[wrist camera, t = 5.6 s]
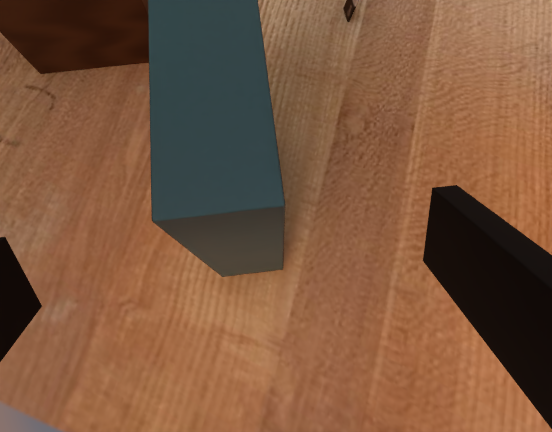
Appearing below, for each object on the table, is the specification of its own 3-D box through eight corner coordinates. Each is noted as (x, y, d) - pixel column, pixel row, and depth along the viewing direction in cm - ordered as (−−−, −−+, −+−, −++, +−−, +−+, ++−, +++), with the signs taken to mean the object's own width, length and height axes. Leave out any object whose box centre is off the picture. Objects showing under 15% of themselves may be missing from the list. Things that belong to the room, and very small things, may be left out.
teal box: (219, 277, 23) (145, 222, 10) (210, 152, 25) (143, -11, 13) (283, 269, 23) (285, 205, 10) (267, 146, 26) (255, -22, 13)
